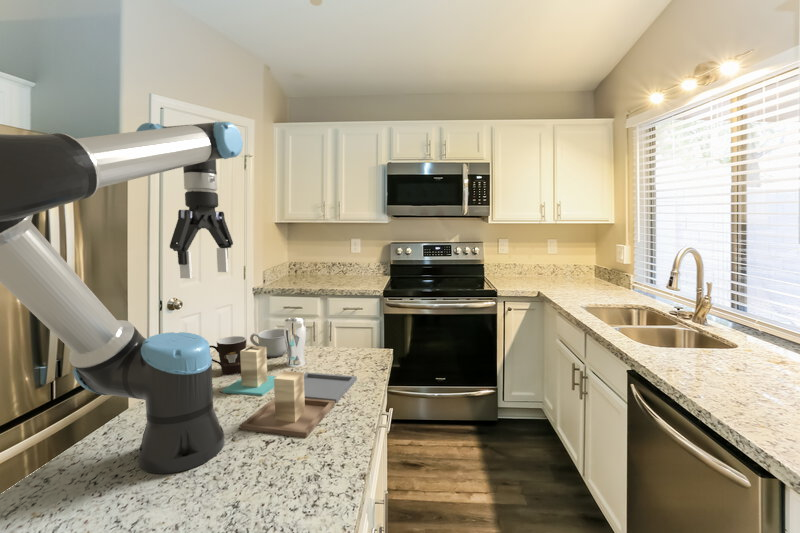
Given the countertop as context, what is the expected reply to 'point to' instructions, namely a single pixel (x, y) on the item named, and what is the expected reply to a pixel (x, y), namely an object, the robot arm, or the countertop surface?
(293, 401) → the plain block
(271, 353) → the teacup
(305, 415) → the walnut tray
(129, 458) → the countertop surface
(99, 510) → the countertop surface
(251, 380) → the letter block
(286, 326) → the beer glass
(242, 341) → the coffee mug
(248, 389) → the teal mat
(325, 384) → the grey tray
